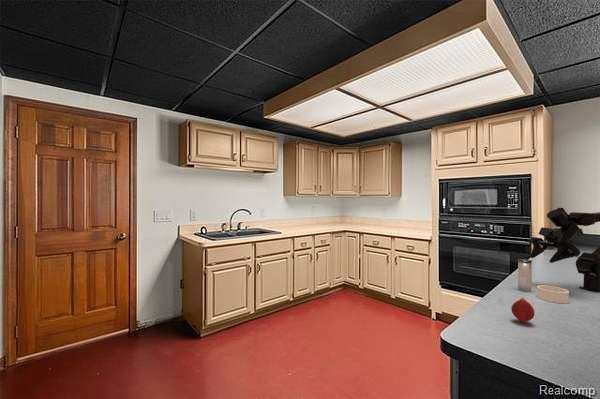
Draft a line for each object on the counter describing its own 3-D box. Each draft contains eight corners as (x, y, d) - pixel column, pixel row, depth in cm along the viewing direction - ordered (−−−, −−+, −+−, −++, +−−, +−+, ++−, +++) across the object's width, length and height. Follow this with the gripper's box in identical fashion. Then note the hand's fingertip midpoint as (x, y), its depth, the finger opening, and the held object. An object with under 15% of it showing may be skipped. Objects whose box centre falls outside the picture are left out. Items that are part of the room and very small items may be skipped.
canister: (522, 288, 129) (523, 258, 128) (534, 291, 124) (534, 261, 124) (514, 289, 127) (515, 259, 127) (526, 292, 123) (526, 261, 122)
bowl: (547, 294, 121) (547, 284, 121) (574, 301, 112) (574, 291, 112) (531, 296, 118) (531, 286, 118) (558, 304, 109) (558, 293, 109)
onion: (539, 326, 90) (539, 300, 89) (520, 326, 90) (520, 300, 90) (524, 318, 95) (525, 294, 95) (507, 318, 95) (507, 294, 95)
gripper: (533, 219, 136) (511, 243, 135) (574, 223, 117) (548, 250, 116) (549, 236, 136) (526, 260, 135) (592, 242, 118) (566, 270, 117)
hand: (540, 259), depth 126 cm, fingers open, 9 cm apart
